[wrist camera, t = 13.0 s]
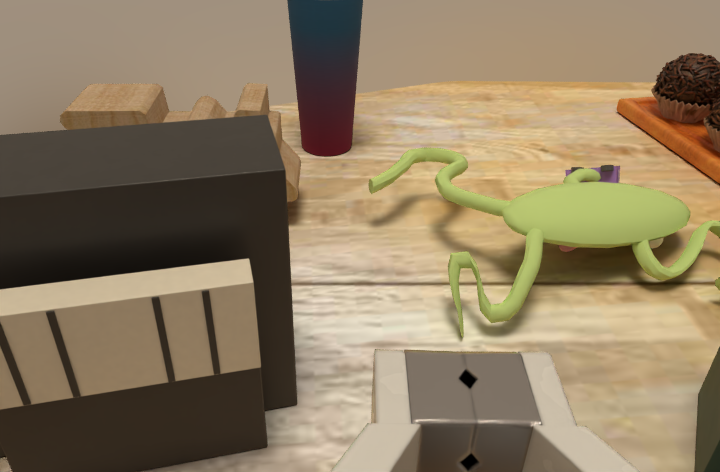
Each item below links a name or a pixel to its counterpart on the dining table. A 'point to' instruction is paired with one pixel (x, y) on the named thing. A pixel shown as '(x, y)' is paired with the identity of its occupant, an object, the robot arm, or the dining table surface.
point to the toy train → (172, 114)
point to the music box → (709, 421)
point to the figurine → (563, 222)
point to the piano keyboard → (126, 331)
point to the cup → (325, 71)
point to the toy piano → (146, 253)
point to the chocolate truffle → (684, 111)
